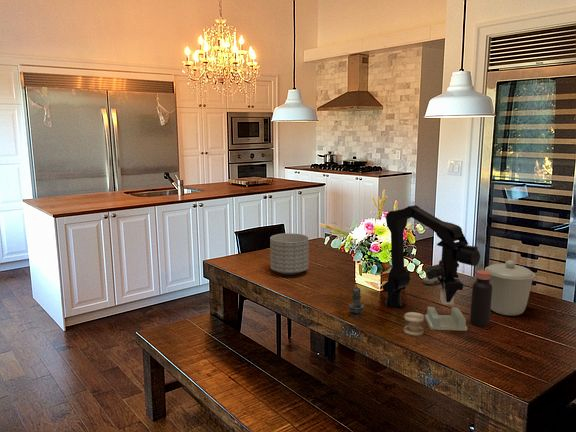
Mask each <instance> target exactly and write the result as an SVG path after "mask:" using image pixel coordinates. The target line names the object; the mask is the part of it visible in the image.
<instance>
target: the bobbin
mask: <svg viewBox="0 0 576 432" xmlns="http://www.w3.org/2000/svg"><path fill="white" fill-rule="evenodd" d="M403 318H404V320H405V321H407V325H405V326H404V327H403V332H404V333H405V334H406V335H408V336H411V337H419V336H423V335H424V332H425V331H424V327H421V323H423V322H425V314H422V313H419V312H414V311H409V312H405V313H404V316H403Z"/></svg>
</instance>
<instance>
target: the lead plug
mask: <svg viewBox="0 0 576 432" xmlns="http://www.w3.org/2000/svg"><path fill="white" fill-rule="evenodd" d="M439 295H440V296H439V297H440V298H439V301H440V302H441V304H442V305H451V306H452V305H453V306H454V304H455V303H454V302H455V295H454V296H453V298H452V299H451V301H450V302H447V301H446V292H445V288H444V289H442V288H440V294H439Z"/></svg>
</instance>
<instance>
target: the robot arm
mask: <svg viewBox="0 0 576 432" xmlns="http://www.w3.org/2000/svg"><path fill="white" fill-rule="evenodd" d="M411 218H412V219H414V220H415V221H417V222H419V223H420V224H422V225H423V226H425V227H427V228H429V229H430V230H432V231H433V232H434V233H435V234H436V236H437V237H438V238H439V239H440V240H441V241H439V242H437V243H436V246H438V247H441V259H440V260H439V261H438V264H435V265H434V264H433V265H432V266H427V267H425V268H424V273H425V275H426V276H427V278H428V279H429V280H431V279H433V278H436V277H437V279H438V280H439V281H440V282H441V283H440V284H441V289H444V288H445V292H446V301H447V302H450V301H451V299H452V298H453V296H454V297H455V295H456V294H457V291H464V284H463V282H462V281H461V280H460V279H459V274H458V268H459V267H460V264H464V265H468V266H472V267H476V266H478V264H479V263H480V260H481V254H480V251H479V250H478V246H476V245H475V246H474V245H469V242H468V239H466V236H465V234H464V232H463V228H462V227H461V226H459V224H458V225H457V224H455V223H452V222H448V221H445V220H441V219H440V218H438V217H436V216H434V215H432V214H431V213H429V212H427V211H425V209H422V208H421V207H419V205H417V204H415V205H408V206H407V207H404V208H402V209H396V210H391V211H388V212H387V213H386V214H385V222H386V227H387V229H388V230H389V231H390V232H389V233H390V242H391V244H390V245H391V246H390V247H391V248H390V249H391V268H390V271H389V272H388V278H387V281H386V282H385V283H383V284H382V286H381V287H382V290H383V292H385V293H386V299H385V300H384V303H385V306H386V307H388V308H389V307H392V308H395V307H396V308H403V303H402V291H403V290H406V287H407V286H408V285H409V284H410V281H411V278H410V275H411V271H410V270H407V269H406V267H405V248H404V247H405V246H404V245H405V244H404V243H405V242H404V241H405V240H404V231H405V229H406V227H407V225H408V220H409V219H411ZM457 267H458V268H457Z"/></svg>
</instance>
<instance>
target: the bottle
mask: <svg viewBox="0 0 576 432" xmlns="http://www.w3.org/2000/svg"><path fill="white" fill-rule="evenodd" d="M475 273H476V275H475V278H476V281H474V282H473V283H472V289H471V291H472V292H471V302H470V304H471V305H470V315H469V317H470V318H469V322H470V323H471V324H472V325H474V326H476V327H488V326H489V325H490V320H491V319H490V318H491V298H492V285H491V284H490V283H489V280H490V278H491V273H490V272H488V271H485V269H484V270H482V269H481V270H477V271H476V272H475Z"/></svg>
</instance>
